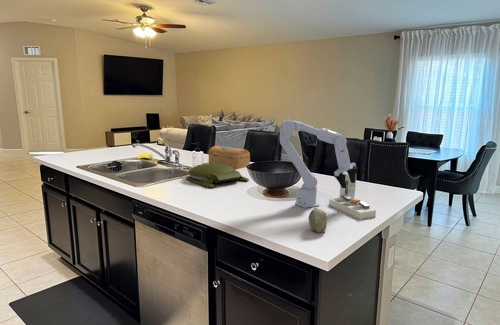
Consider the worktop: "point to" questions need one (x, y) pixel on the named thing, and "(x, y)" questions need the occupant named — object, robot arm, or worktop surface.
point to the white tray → (352, 208)
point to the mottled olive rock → (317, 220)
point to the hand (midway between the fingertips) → (348, 185)
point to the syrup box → (348, 187)
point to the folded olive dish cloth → (214, 174)
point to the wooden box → (229, 156)
